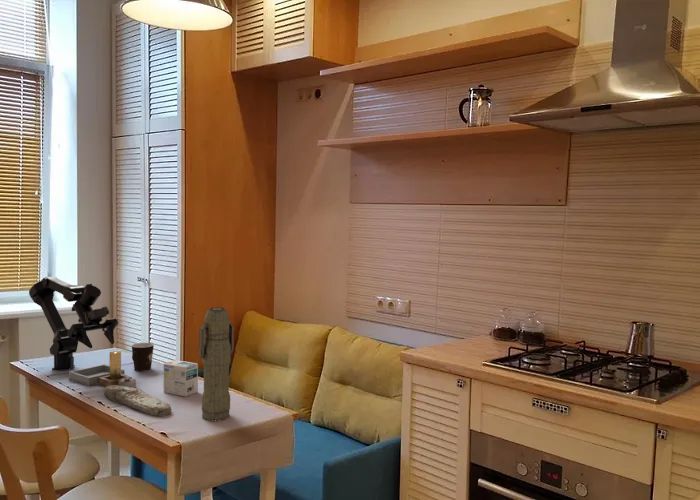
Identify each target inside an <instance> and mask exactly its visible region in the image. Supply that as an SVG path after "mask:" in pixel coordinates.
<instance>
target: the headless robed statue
mask: <svg viewBox="0 0 700 500" xmlns="http://www.w3.org/2000/svg"><path fill="white" fill-rule="evenodd" d="M198 331H199V333H198V334H199V335H198V336H199V337H198V353H199V354H198V355H199V358H201V359H202V360H201V361H202V362H201V363H202V365H203V393H202V395H201V412H202V413H201V417H202V420H204V419H205V420H204V421H207V420H210V421H209V422H218V421H217V420H221V421H224V420H223V419H225V420H227V419H229V418H230V410H231V393H230V392H229V391H230V390H229V388H230V386H229V384H230V364H231V361H232V360H231V357H232V353H234V350H235V349H234V348H235V345H234V344H235V339H234V338H235V326H234V324H233V323H232V322H230V316H229V312H228V310H227V309H226V308H224V307H210V308H209V309H207V311H206V313H205V316H204V323H202V324H201V325H200V328H199V329H198ZM228 417H229V418H228ZM226 418H227V419H226ZM212 420H213V421H212ZM215 420H216V421H215Z"/></svg>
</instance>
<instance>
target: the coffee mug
mask: <svg viewBox="0 0 700 500" xmlns="http://www.w3.org/2000/svg"><path fill="white" fill-rule="evenodd" d="M154 347H155V344H154V343H151V342H136V343H133V344H131V351H132V352H131V353H132V355H131V359H132V363H133V369H134V371H136V372H148V371H150V370H151V369H152V362H153V354H154Z"/></svg>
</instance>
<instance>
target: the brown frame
mask: <svg viewBox="0 0 700 500" xmlns="http://www.w3.org/2000/svg"><path fill="white" fill-rule="evenodd" d="M98 385H100V386H102V387H104V388H106V387H107V386H112V385H119V386H125V387H132V388H136V389H137V380H136V379H135V378H133V376H129V375H126V374H124V375H123V374H121V379H118V380H114V381H113V380H110V375H108V376H104V377H100V378H99V384H98Z"/></svg>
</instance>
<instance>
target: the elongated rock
mask: <svg viewBox="0 0 700 500" xmlns="http://www.w3.org/2000/svg"><path fill="white" fill-rule="evenodd" d="M103 394H104V396H106V397H107V398H108V399H110V400H112V401H113V402H114V403H118V404H122V405H125V406H128V407H131V409H136V410H139V411H140V412H143V413H145V414H147V415H151V416H152V415H153V416H157V417H163V416H164V415H166V416H168V415H170V414H171V413H172V408H171V405H170V404H169V403H168V402H166V401H162V400H161V399H159V398H156V397H153V396H152V395H150V394H147V393H145V391H144V390H143V389H139V388H137V387H136V388H132V387H125V386H119V385H112V386H107V387H104V388H103ZM164 417H165V416H164Z"/></svg>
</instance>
